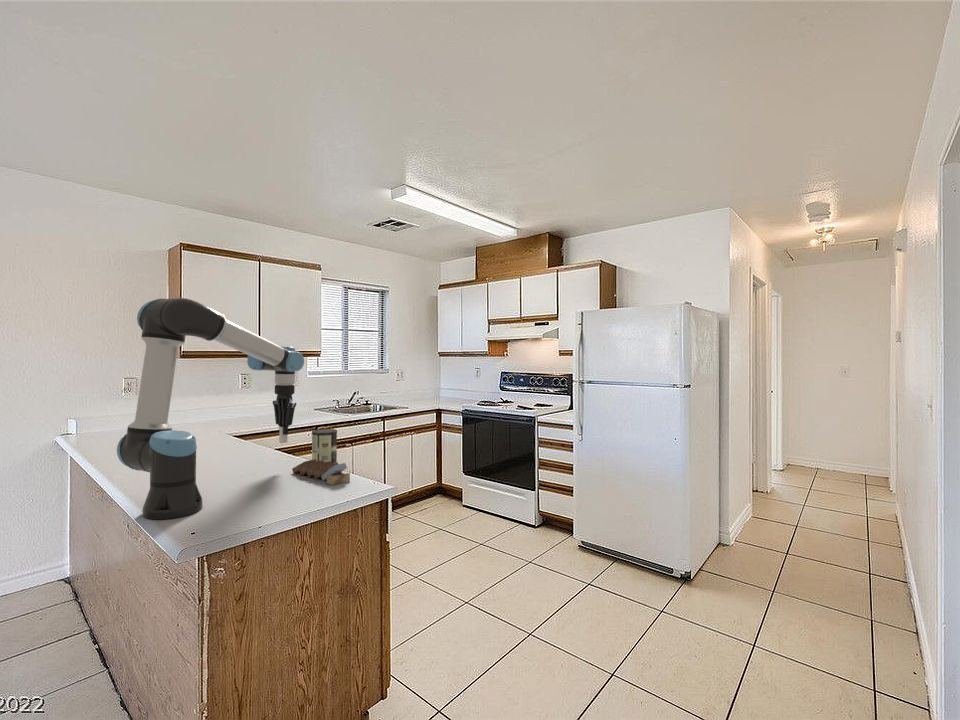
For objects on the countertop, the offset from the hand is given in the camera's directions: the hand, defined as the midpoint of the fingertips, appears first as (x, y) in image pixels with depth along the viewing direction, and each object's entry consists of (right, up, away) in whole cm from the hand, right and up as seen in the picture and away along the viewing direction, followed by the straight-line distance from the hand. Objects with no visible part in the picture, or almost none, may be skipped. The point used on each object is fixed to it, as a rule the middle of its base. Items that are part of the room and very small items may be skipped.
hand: (283, 442), depth 197 cm
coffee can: (+14, -11, +10) cm, 20 cm away
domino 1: (+8, -10, -5) cm, 14 cm away
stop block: (+28, -12, -18) cm, 35 cm away
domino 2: (+12, -10, -7) cm, 17 cm away
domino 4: (+19, -10, -12) cm, 25 cm away
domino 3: (+16, -10, -10) cm, 21 cm away
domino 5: (+23, -10, -15) cm, 29 cm away
